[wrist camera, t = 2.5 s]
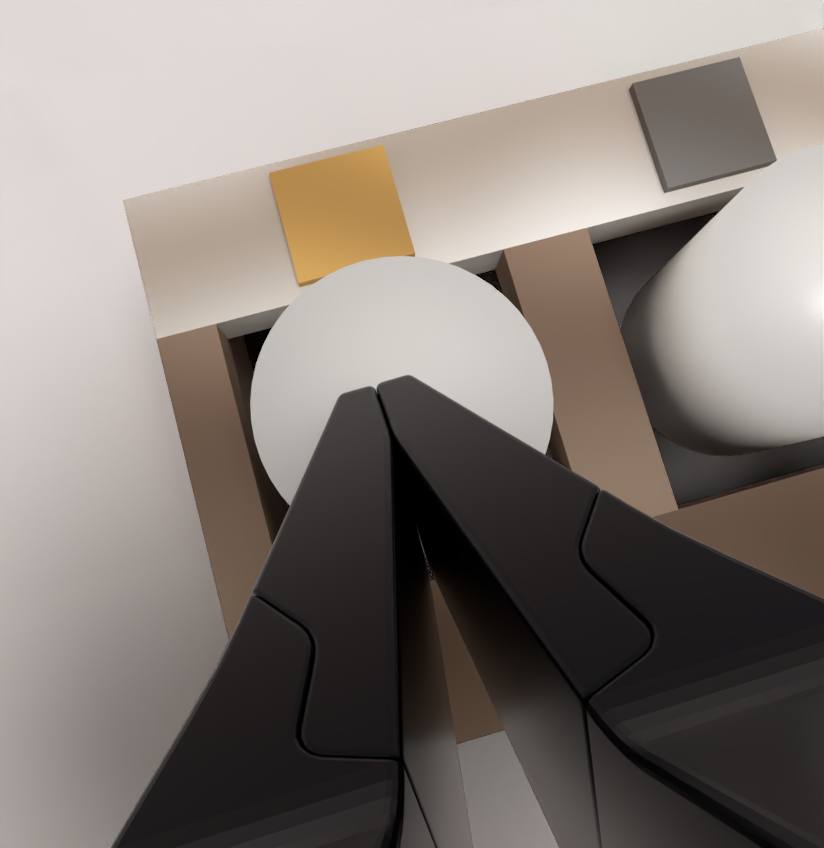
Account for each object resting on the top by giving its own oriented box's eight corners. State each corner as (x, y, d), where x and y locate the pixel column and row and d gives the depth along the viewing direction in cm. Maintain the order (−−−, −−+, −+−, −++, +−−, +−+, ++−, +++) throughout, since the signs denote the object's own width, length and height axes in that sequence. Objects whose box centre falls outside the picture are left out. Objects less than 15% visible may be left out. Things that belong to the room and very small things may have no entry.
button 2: (529, 516, 14) (592, 506, 10) (322, 574, 14) (293, 592, 10) (469, 316, 15) (503, 224, 11) (269, 369, 15) (218, 298, 10)
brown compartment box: (1058, 481, 20) (1428, 452, 13) (312, 703, 19) (265, 806, 12) (921, 134, 21) (1189, -68, 14) (214, 316, 20) (118, 195, 13)
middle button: (849, 425, 15) (1045, 378, 10) (655, 480, 15) (772, 456, 10) (780, 235, 15) (940, 113, 11) (592, 284, 15) (677, 181, 11)
